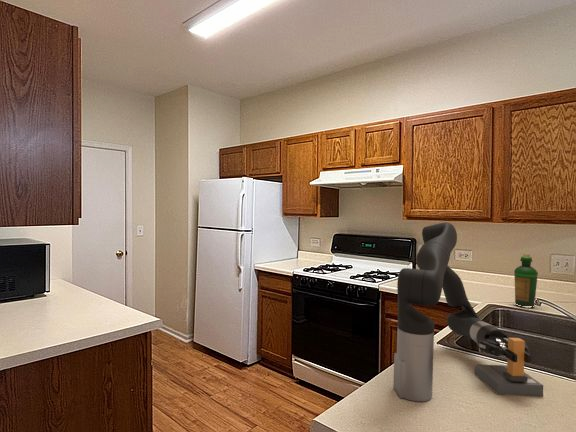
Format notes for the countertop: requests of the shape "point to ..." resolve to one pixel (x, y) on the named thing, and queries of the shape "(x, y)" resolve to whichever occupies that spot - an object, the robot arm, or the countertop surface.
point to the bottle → (525, 282)
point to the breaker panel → (507, 381)
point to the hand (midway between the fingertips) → (522, 358)
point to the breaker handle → (517, 368)
